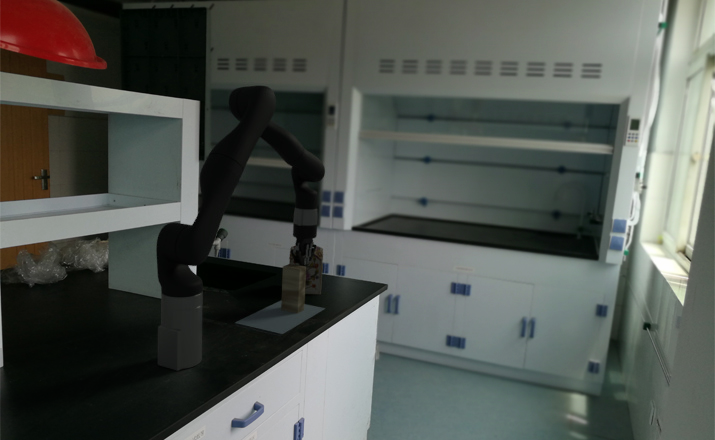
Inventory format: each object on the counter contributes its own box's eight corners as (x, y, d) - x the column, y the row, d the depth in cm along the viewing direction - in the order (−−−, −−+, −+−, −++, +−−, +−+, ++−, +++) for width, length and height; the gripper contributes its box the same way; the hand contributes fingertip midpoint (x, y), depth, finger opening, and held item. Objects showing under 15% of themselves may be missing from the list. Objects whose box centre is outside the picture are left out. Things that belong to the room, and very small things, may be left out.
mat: (282, 336, 143) (282, 334, 143) (234, 325, 149) (234, 322, 149) (325, 310, 167) (325, 308, 167) (282, 301, 173) (282, 299, 173)
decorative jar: (321, 287, 193) (323, 239, 190) (321, 296, 181) (324, 246, 179) (288, 286, 192) (290, 238, 189) (287, 295, 180) (289, 244, 178)
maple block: (297, 313, 160) (299, 269, 158) (281, 309, 163) (282, 266, 161) (304, 309, 164) (306, 266, 162) (287, 306, 166) (289, 263, 164)
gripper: (305, 218, 172) (302, 269, 174) (284, 223, 160) (281, 278, 162) (325, 221, 169) (322, 273, 171) (305, 226, 157) (302, 281, 159)
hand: (302, 275), depth 167 cm, fingers closed
